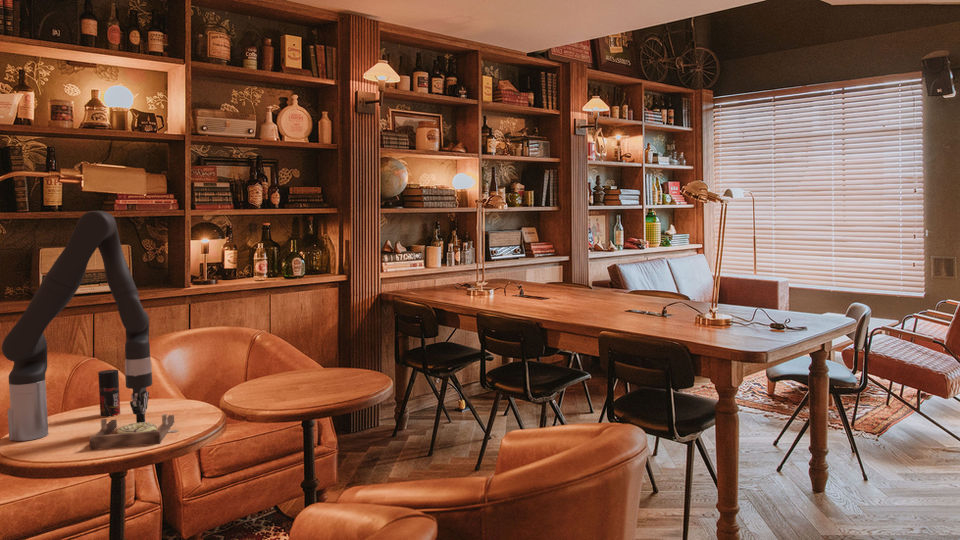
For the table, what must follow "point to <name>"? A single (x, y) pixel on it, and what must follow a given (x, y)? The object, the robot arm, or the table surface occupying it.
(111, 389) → the deodorant
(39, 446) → the table surface
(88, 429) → the table surface
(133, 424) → the decorated donut
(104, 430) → the u-shaped frame
